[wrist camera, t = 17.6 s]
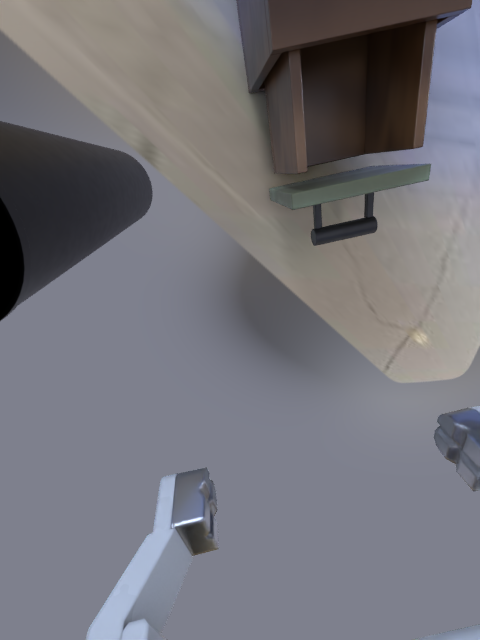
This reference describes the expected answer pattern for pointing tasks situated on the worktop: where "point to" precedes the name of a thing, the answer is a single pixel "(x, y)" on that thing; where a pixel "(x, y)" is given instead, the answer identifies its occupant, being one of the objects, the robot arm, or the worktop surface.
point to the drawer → (349, 118)
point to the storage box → (324, 25)
